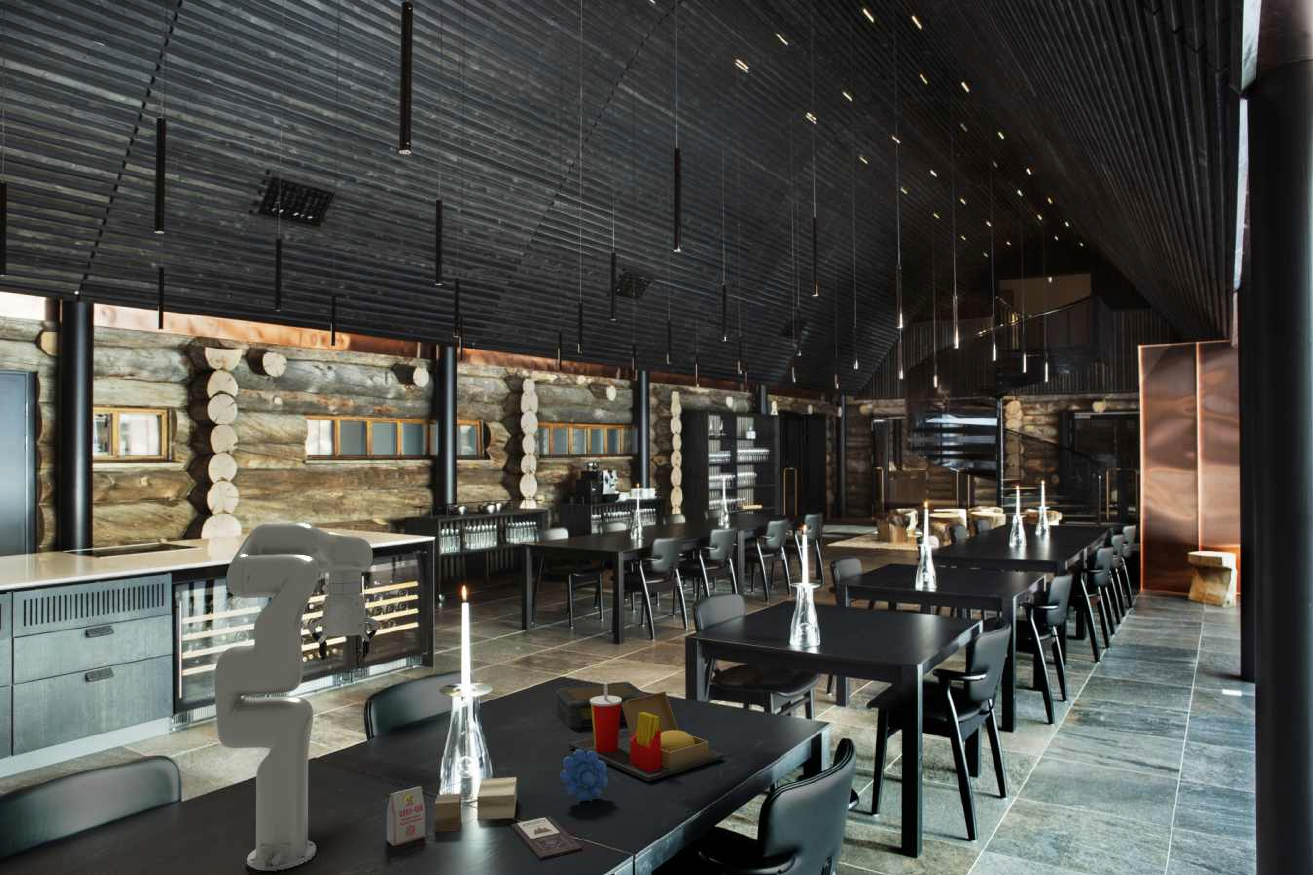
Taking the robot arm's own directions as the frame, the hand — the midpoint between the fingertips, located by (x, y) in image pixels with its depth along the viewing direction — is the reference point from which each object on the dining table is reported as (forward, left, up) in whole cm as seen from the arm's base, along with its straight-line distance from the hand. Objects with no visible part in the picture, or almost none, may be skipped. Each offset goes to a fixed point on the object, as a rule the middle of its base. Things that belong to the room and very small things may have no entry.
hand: (344, 657), depth 214 cm
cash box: (+47, -66, -31) cm, 87 cm away
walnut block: (-32, -29, -30) cm, 53 cm away
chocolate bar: (-41, -50, -31) cm, 72 cm away
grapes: (-23, -59, -31) cm, 71 cm away
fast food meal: (+8, -76, -31) cm, 83 cm away
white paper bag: (-37, -21, -31) cm, 53 cm away
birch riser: (-24, -39, -30) cm, 55 cm away
